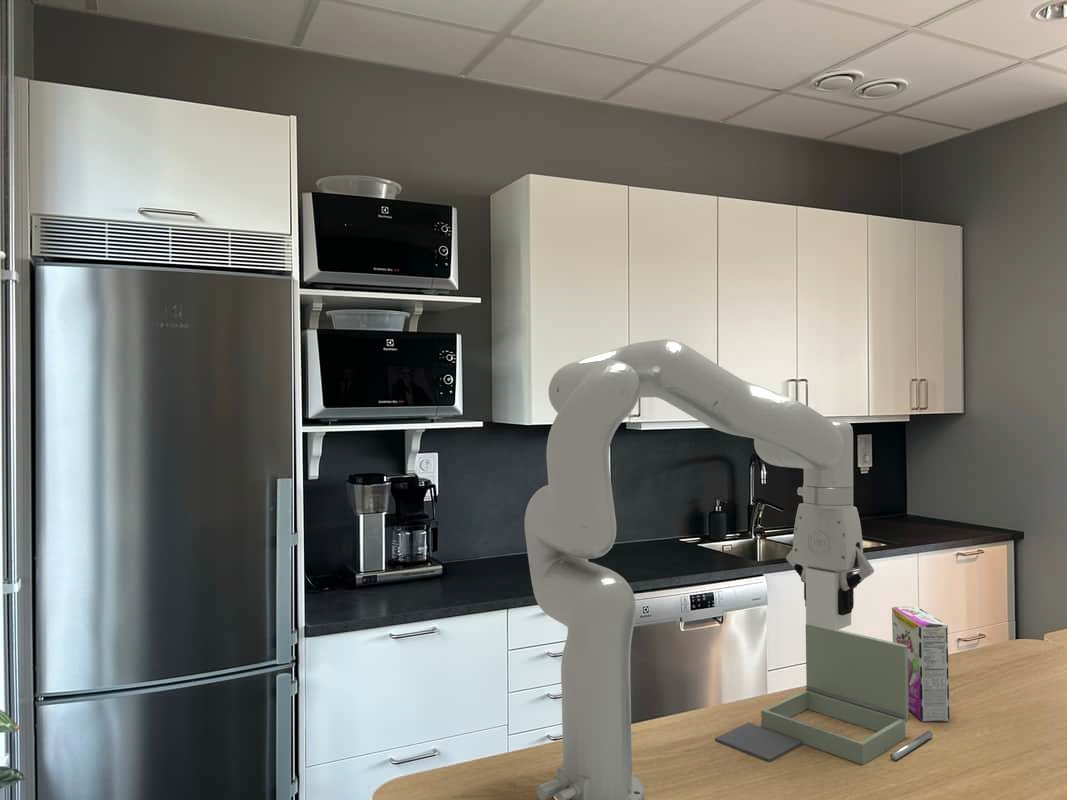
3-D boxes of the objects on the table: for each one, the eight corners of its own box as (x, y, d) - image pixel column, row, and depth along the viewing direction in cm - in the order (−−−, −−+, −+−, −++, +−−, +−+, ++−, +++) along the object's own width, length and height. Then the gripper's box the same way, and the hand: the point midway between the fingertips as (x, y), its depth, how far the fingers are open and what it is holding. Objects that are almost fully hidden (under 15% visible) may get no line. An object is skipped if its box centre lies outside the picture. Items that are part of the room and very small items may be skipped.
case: (862, 764, 118) (861, 666, 118) (761, 728, 131) (760, 640, 131) (909, 735, 127) (908, 645, 127) (810, 704, 141) (809, 622, 141)
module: (834, 630, 125) (834, 565, 125) (805, 623, 129) (805, 560, 129) (851, 624, 128) (851, 561, 128) (822, 618, 132) (822, 556, 132)
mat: (769, 762, 119) (769, 759, 119) (714, 740, 127) (714, 738, 127) (802, 744, 125) (802, 741, 125) (748, 724, 133) (748, 722, 133)
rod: (896, 761, 119) (896, 754, 119) (890, 759, 119) (890, 752, 119) (932, 738, 126) (932, 731, 126) (926, 736, 127) (926, 729, 127)
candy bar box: (891, 697, 143) (890, 606, 143) (919, 697, 143) (918, 606, 143) (920, 723, 132) (919, 624, 132) (951, 722, 132) (949, 623, 132)
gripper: (768, 494, 133) (769, 603, 133) (867, 504, 120) (867, 625, 120) (794, 490, 137) (794, 596, 137) (891, 500, 124) (891, 617, 124)
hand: (828, 608), depth 129 cm, fingers closed on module, 5 cm apart
